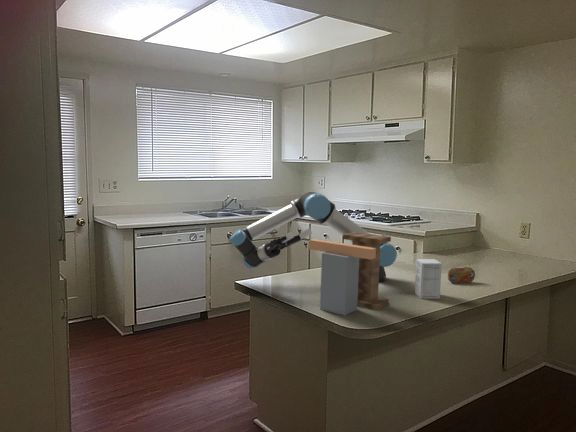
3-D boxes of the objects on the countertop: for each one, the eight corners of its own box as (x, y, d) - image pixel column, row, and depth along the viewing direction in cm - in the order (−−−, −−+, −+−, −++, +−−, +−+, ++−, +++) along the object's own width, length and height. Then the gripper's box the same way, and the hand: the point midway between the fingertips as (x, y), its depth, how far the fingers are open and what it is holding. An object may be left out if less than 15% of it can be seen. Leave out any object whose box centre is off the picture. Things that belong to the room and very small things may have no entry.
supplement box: (433, 293, 231) (435, 258, 229) (440, 299, 222) (442, 263, 220) (413, 293, 231) (415, 258, 229) (419, 298, 222) (421, 262, 220)
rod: (308, 249, 208) (308, 239, 207) (313, 247, 211) (314, 238, 210) (370, 259, 190) (371, 249, 189) (375, 258, 193) (375, 248, 192)
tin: (449, 284, 249) (450, 268, 248) (446, 282, 252) (447, 267, 251) (474, 283, 253) (475, 267, 252) (471, 281, 256) (472, 266, 255)
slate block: (320, 309, 203) (321, 253, 200) (333, 303, 211) (335, 249, 208) (344, 315, 196) (346, 257, 193) (357, 309, 203) (359, 253, 200)
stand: (339, 301, 215) (341, 234, 211) (353, 295, 224) (355, 231, 220) (375, 310, 204) (378, 239, 200) (388, 303, 213) (391, 236, 209)
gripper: (288, 254, 234) (320, 237, 222) (254, 262, 214) (287, 244, 202) (283, 240, 236) (314, 222, 223) (248, 246, 216) (280, 227, 203)
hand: (301, 232), depth 212 cm, fingers open, 13 cm apart
